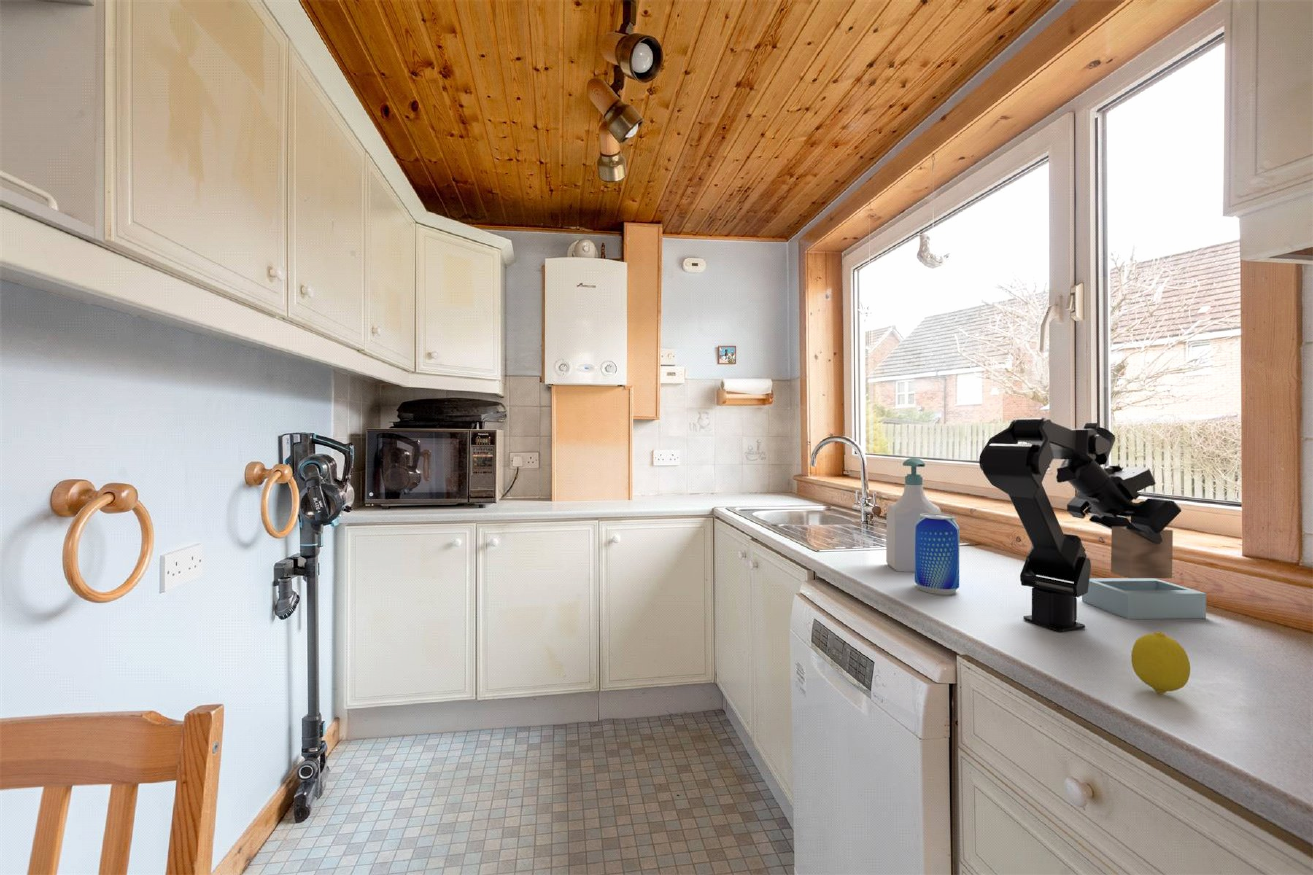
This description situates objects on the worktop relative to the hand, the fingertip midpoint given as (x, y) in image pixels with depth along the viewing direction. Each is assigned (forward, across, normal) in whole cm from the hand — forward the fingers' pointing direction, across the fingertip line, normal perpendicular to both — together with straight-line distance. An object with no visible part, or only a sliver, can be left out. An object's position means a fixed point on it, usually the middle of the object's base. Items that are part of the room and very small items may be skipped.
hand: (1148, 540), depth 100 cm
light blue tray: (+8, 0, +10) cm, 13 cm away
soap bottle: (-11, +30, +30) cm, 44 cm away
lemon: (-11, -31, +30) cm, 44 cm away
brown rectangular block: (+4, 0, +6) cm, 7 cm away
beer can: (-14, +13, +33) cm, 38 cm away
